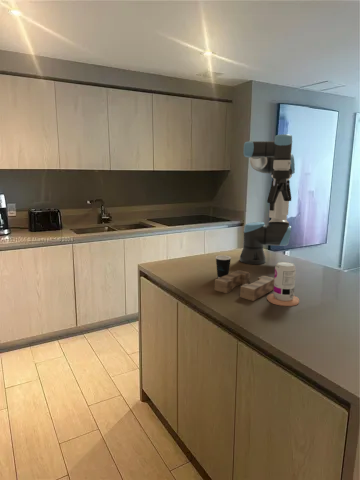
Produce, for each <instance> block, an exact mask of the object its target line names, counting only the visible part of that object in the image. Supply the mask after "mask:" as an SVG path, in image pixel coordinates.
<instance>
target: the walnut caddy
mask: <svg viewBox="0 0 360 480" xmlns="http://www.w3.org/2000/svg"><path fill="white" fill-rule="evenodd" d="M250 279H251V278H250V272H248V271H243V270H239V269H237V270H235V271H232V272H230V273H229V274H227V275H225V276H223V277H220V278H218V277H217V278H216V279H214V291H217V292H219V293H224V294H228V293H230V292H232V291H233V289H234V288H236V287H238V286H240V290H239V291H240V293H239V297H240V298H242V299H246V300H249V301H253V302H254V301H256V300H258V299H259V298H261V297H264V296H265V295H266V294H268V293H271V291H274V277H271V276H267V275H261V276H259V277H257V280H256V281H254V282H252V283H250ZM249 283H250V284H249Z"/></svg>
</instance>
